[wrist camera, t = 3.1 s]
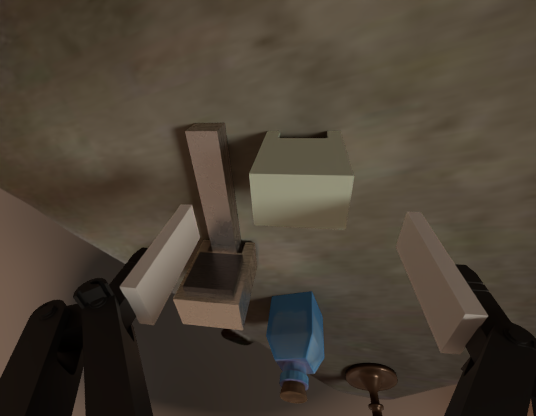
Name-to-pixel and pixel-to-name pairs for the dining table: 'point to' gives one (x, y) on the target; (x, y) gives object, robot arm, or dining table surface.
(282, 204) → the block
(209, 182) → the grey l-shaped piece
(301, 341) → the perfume bottle
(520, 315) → the dining table surface
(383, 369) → the candlestick
